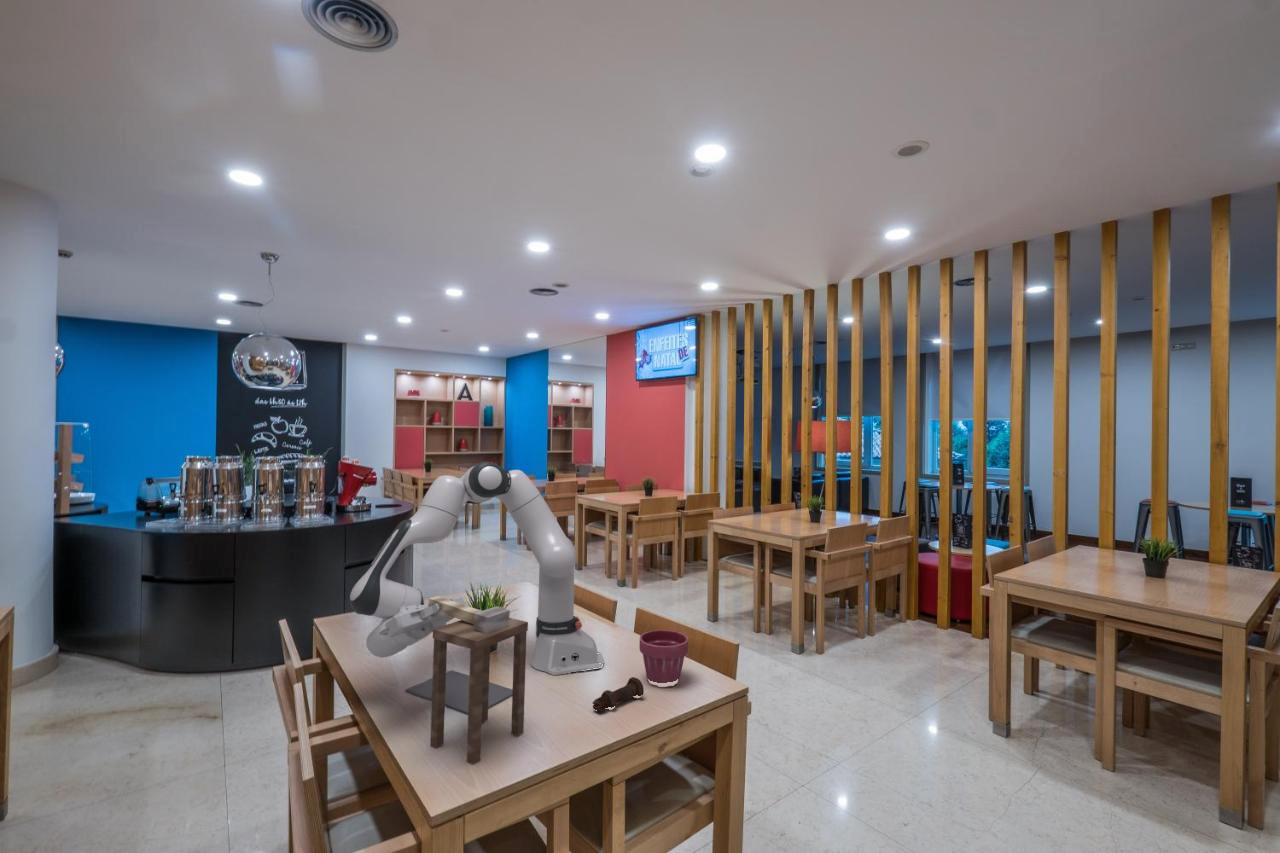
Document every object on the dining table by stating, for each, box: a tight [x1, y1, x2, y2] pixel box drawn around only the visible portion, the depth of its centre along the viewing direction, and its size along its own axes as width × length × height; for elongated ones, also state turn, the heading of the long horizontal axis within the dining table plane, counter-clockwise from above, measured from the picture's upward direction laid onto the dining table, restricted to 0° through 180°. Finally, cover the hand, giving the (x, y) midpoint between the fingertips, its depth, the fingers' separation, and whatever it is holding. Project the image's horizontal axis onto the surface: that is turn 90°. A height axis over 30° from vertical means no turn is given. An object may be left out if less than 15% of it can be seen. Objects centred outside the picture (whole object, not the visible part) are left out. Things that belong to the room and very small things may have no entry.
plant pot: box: [639, 629, 689, 683], centre depth 165 cm, size 14×14×13 cm
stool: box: [429, 617, 529, 765], centre depth 131 cm, size 14×16×26 cm
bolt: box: [592, 676, 645, 712], centre depth 150 cm, size 6×5×15 cm
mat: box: [404, 669, 513, 716], centre depth 155 cm, size 26×16×1 cm, turn 60°
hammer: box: [427, 595, 511, 634], centre depth 134 cm, size 22×7×4 cm, turn 60°
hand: (446, 604), depth 138 cm, fingers closed on hammer, 3 cm apart
